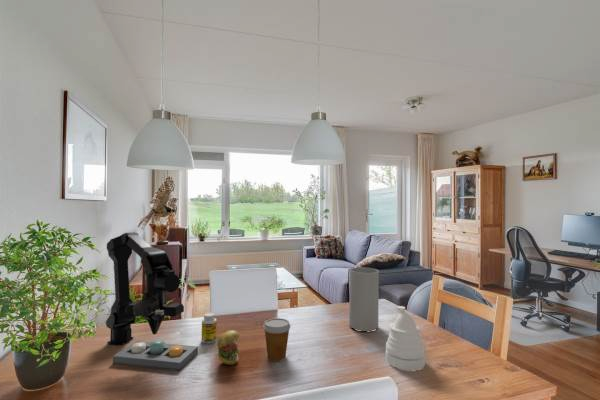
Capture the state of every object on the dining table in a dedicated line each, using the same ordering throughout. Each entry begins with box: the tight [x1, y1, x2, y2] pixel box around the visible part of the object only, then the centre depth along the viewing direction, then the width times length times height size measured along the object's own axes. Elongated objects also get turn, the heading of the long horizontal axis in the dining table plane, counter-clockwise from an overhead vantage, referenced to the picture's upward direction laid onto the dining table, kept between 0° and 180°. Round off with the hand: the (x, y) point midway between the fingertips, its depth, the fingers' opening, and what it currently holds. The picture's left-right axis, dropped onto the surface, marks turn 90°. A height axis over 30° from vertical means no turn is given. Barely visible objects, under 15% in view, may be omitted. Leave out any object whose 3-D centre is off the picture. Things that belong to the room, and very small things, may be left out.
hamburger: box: [216, 326, 240, 366], centre depth 108 cm, size 8×7×12 cm
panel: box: [112, 340, 199, 372], centre depth 110 cm, size 24×12×3 cm, turn 81°
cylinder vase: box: [348, 266, 380, 331], centre depth 141 cm, size 12×12×25 cm
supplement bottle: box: [201, 312, 218, 344], centre depth 125 cm, size 6×6×10 cm
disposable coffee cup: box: [262, 317, 292, 362], centre depth 112 cm, size 10×10×12 cm
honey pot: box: [385, 305, 426, 371], centre depth 110 cm, size 13×13×18 cm
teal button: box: [149, 339, 165, 355], centre depth 110 cm, size 4×4×3 cm
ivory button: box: [131, 341, 146, 354], centre depth 111 cm, size 4×4×3 cm
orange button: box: [169, 346, 183, 357], centre depth 109 cm, size 4×4×3 cm
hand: (154, 333), depth 110 cm, fingers closed
